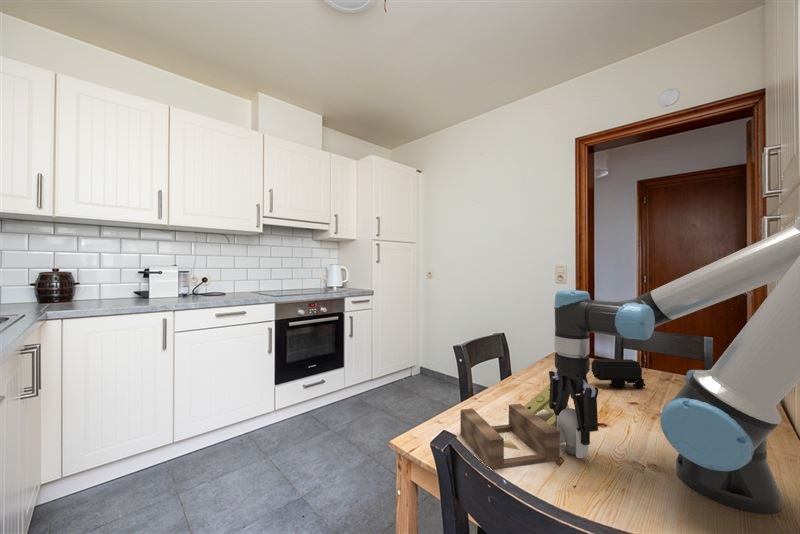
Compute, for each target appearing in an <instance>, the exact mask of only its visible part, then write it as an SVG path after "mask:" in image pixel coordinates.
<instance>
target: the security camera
mask: <svg viewBox="0 0 800 534" xmlns="http://www.w3.org/2000/svg"><path fill="white" fill-rule="evenodd" d="M642 369H643V367H641V364H640V362H638V361H636V360H634V359H628V358H625V359H622V358H621V359H619V358H618V359H617V358H616V359H615V358H613V359H611V358H610V359H608V358H605V359H604V358H602V359H601V358H599V359H598V358H594V359H593V360H592V361H591V372H592V375H593V377H594V378H595V379H597V380H599V381H610V383H608V386H609V387H611V388H613V389H626V383H627V384H632V387H634V388H637V389H644V387H646V383H645V379H644V378H643V374H642V373H643V370H642Z"/></svg>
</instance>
